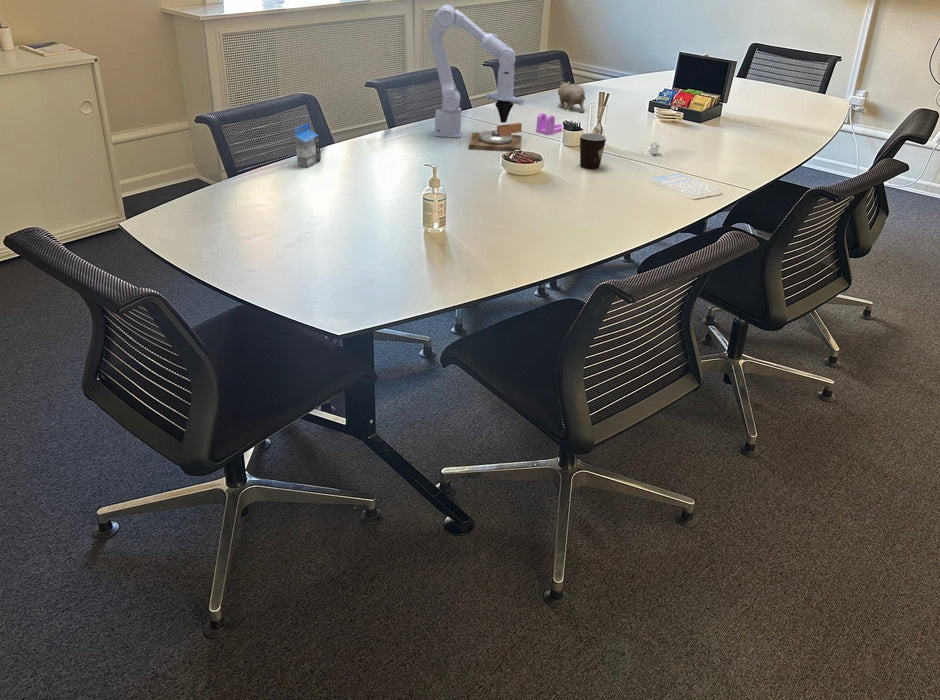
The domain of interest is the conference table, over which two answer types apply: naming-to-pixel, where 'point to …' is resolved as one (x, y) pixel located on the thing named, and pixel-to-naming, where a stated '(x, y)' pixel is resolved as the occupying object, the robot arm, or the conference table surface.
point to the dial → (500, 134)
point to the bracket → (547, 125)
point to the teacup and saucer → (653, 148)
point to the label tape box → (307, 146)
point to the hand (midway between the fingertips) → (503, 122)
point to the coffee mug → (591, 150)
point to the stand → (480, 145)
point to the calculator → (684, 184)
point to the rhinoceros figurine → (571, 95)
